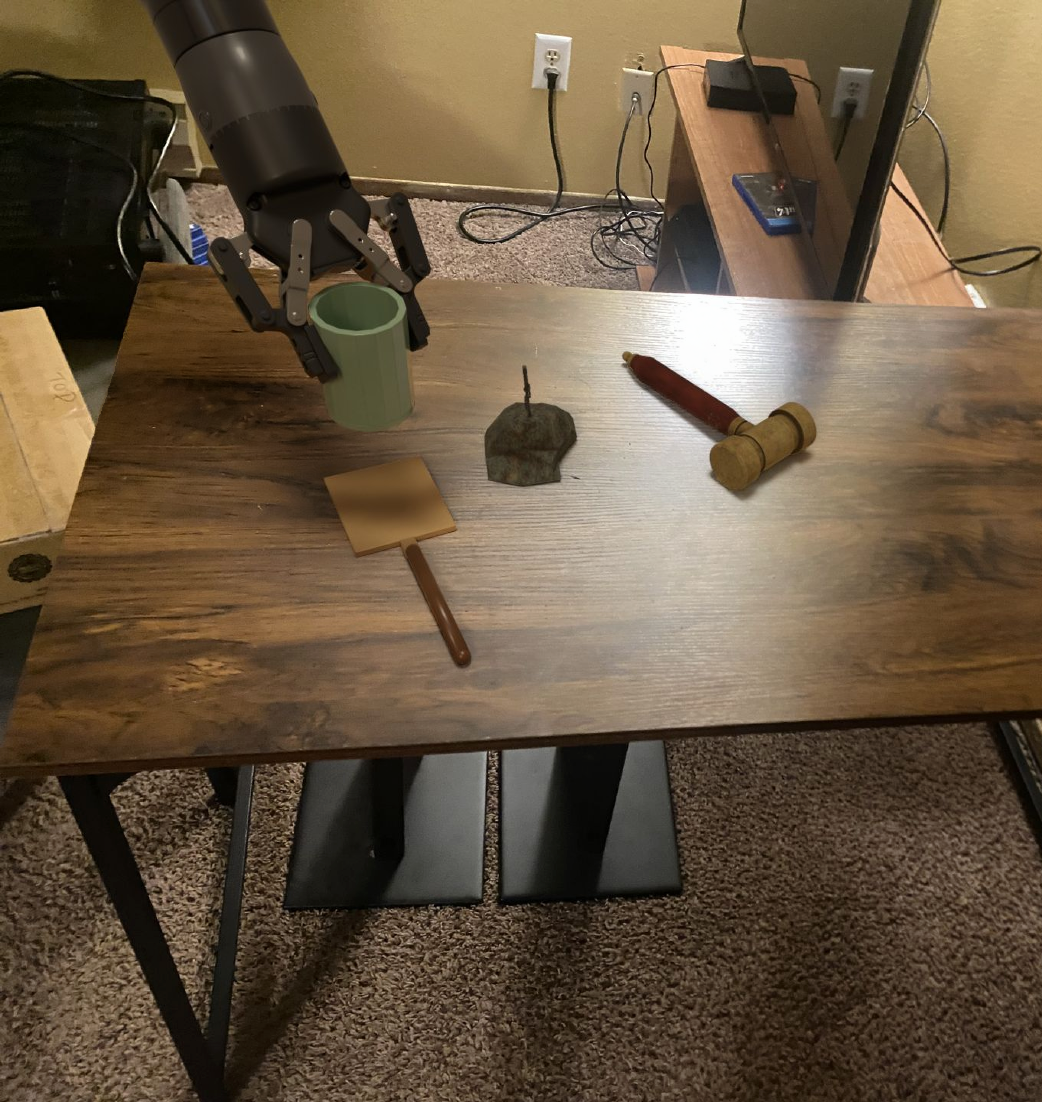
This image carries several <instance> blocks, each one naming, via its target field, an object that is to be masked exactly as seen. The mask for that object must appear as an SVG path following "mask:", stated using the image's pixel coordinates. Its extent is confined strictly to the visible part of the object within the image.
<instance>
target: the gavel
mask: <svg viewBox="0 0 1042 1102" xmlns="http://www.w3.org/2000/svg"><path fill="white" fill-rule="evenodd" d="M621 357H622V361H624V362H626V363H627V366H628V368H630V369H631V371H632V372H633V373H634V375H635V376H636V378H637V379H638V380H639V381H640V382H642V383H643V384H644V385H646V386H648V387H649V388H651V389H653V390H654V391H656V392H657V393H659V394H660V395H662V396H663V397H664V398H666V399H667V400H669V401H671V402H672V403H674V404H675V405H677V406H678V407H680V408H681V409H683V410H684V411H686V412H687V413H689V414H690V415H692V416H693V417H695V418H696V419H698V420H699V421H701V422H702V423H704V424H706V425H707V426H709V427H710V428H712V429H713V430H715V431H716V432H718V433H720V434H722V435H725V436H727V437H726V438H724V439H723V440H721V441H719V442H718V443H715V444H714V445H713V446H712V447H711V448H710V450H709V457H708V458H709V459H708V460H709V465H710V468H711V470H712V472H713V474H714V476H715V477H716V479H717V480H718V481H719V482H720V483H721V484H722V485H723V486H724V487H725V488H727V489H729V490H732V491H735V492H736V491H741V490H743V489H744V488H747V487H748V486H749V485H751V484H752V483H754V482H755V481H757V480H758V479H759V477H760V476H761V474H762V473H763V472H765V471H766V470H768V469H770V468H771V467H772V466H775V465H776V464H777V463H779V462H780V461H782V460H784V459H785V458H787V457H788V456H790V455H792V456H793V455H797V454H800V453H801V452H802V451H804V450H805V449H807V448H809V447H810V446H811V445H813V444H814V443H815V441H816V440H817V439H816V438H817V434H818V433H817V425H816V421H815V419H814V417H813V415H812V414H811V413H810V412H809V410H808V409H807V408H806V407H805V406H804V405H802V404H801V403H799V402H795V401H787V402H786V403H784V404H782V405H780V406H778V407H777V408H775V409H773V410H772V411H771V412H770V413H769V414H768V416H767V418H765V419H762V421H760V422H758V423H756V424H754V423H753V422H751V421H748V420H747V419H746V418H744V417H742V416H741V415H740V414H739V413H738V412H737V411H736V410H735V409H734V408H732V407H731V406H729V405H727V404H726V403H725V402H724V401H721V400H720V399H718V398H717V397H715V396H713V394H711V393H709V392H708V391H706V390H704V389H703V388H701V387H700V386H698V385H697V384H695V383H693V382H692V381H690V380H689V379H687V378H685V376H682V375H681V374H680V373H678V372H676V371H675V370H673V369H672V368H670V367H669V366H667V365H665V364H664V363H662V362H660V361H659V360H658V359H656V358H654V357H653V356H649V355H642V354H639V353H637V352H636V353H632V352H631V351H627V350H626V351H623V353H622V355H621Z"/></svg>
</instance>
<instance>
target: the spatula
mask: <svg viewBox="0 0 1042 1102" xmlns="http://www.w3.org/2000/svg"><path fill="white" fill-rule="evenodd" d="M323 483H324V486H325V487H326V489H327V492H328V494H329V496H330V499H331V501H332V503H333V506H334V508H335V510H336V513H337V515H338V517H339V521H340V522H341V525H342V527H343V529H344V532H345V533H346V534H345V535H346V536H347V539H348V541H349V544H350V546H351V548H352V551H353V553H354V555H355V557H356V558H360V557H363V556H368V555H370V554H375V553H378V552H382V551H385V550H388V549H392V548H396V547H400V548H401V550H402V552H403V555H404V557H405V558H406V559H407V560H408V562H409V565H410V567H411V570H412V571H413V573H414V576H415V578H416V580H417V582H418V584H419V587H420V588H421V590H422V593H423V594H424V595H423V596H424V597H425V599H426V601H427V604H428V605H429V607H430V610H431V612H432V615H433V617H434V618H435V621H436V622H437V625H438V627H439V629H440V631H441V633H442V635H443V638H444V640H445V643H446V644H447V646H448V648H449V650H450V652H451V655H452V657H453V659H454V661H455V662H456V663H457V664H459V665H466V664H467V663H469V662H470V660H471V658H472V653H471V651H470V649H469V647H468V645H467V642H466V640H465V638H464V636H463V634H462V632H461V630H460V628H459V625H458V624H457V621H456V619H455V618H454V615H453V613H452V611H451V609H450V607H449V605H448V603H447V600H446V598H445V597H444V594H443V592H442V590H441V588H440V586H439V583H438V582H437V580H436V577H435V575H434V573H433V572H432V569H431V567H430V565H429V563H428V561H427V559H426V557H425V555H424V553H423V551H422V548H421V546H419V543H418V542H419V541H422V540H427V539H429V538H433V537H437V536H440V535H445V534H448V533H451V532H454V531H457V524H456V522H455V520H454V518H453V516H452V514H451V513H450V511H449V508H448V507H447V505H446V502H445V501H444V499H443V497H442V495H441V493H440V491H439V489H438V487H437V485H436V484H435V481H434V479H433V477H432V476H431V474H430V472H429V470H428V468H427V466H426V464H425V462H424V460H423V458H422V456H421V455H419V454H418V455H415V456H411V457H406V458H402V459H398V460H395V461H390V462H386V463H382V464H377V465H373V466H369V467H364V468H360V469H356V470H351V471H347V472H343V473H338V474H334V475H329V476H326V477H323Z"/></svg>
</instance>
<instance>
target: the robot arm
mask: <svg viewBox="0 0 1042 1102" xmlns="http://www.w3.org/2000/svg"><path fill="white" fill-rule="evenodd" d="M138 1H139V3H140V4H141V5H142V6H143V8H144V9H145V11H146V12H147V15H148V16H149V19H150V21H151V23H152V26H153V27H154V30H155V32H156V34H157V36H158V38H159V40H160V43H161V45H162V47H163V48H164V51H165V53H166V55H167V56H168V59H169V61H170V63H171V65H172V67H173V69H174V72H175V74H176V76H177V78H178V80H179V83H180V87H181V89H182V93H183V96H184V98H185V101H186V104H187V106H188V109H189V111H190V113H191V115H192V118H193V120H194V122H195V124H196V126H197V128H198V130H199V133H200V134H201V136H202V139H203V140H204V142H205V145H206V147H207V149H208V151H209V152H210V155H211V157H212V159H213V161H214V163H215V165H216V167H217V169H218V171H219V173H220V175H221V177H222V179H223V181H224V184H225V185H226V188H227V189H228V191H229V193H230V196H231V198H232V200H233V202H234V204H235V206H236V208H237V210H238V212H239V214H240V215H241V218H242V221H243V232H240V233H239V234H236V235H233V236H231V237H229V238H226V237H224V236H218V237H216V238H213V240H212V241H211V243H210V245H209V246H208V248H207V251H206V253H205V259H206V261H207V263H208V264H209V266H210V267H211V269H212V270H213V272H214V274H215V275H216V277H217V278H218V280H219V281H220V283H221V284H222V286H223V288H224V289H225V291H226V292H227V294H228V296H229V297H230V298H231V300H232V301H233V304H234V305H235V307H236V308H237V309H238V311H239V313H240V314H241V316H242V317H243V319H244V320H245V322H246V324H247V326H248V327H249V328H250V329H251V331H252V332H254V333H257V334H262V333H264V332H276V333H281V334H283V335H284V336H286V337H287V338H288V340H289V342H290V344H291V346H292V348H293V350H294V352H295V354H296V356H297V358H298V360H299V362H300V365H301V366H302V368H303V371H304V373H305V374H306V375H307V376H309V378H311V379H314V378H317V380H318V381H319V383H320V384H321V385H322V384H325V383H327V382H330V381H333V380H334V379H336V378H337V377H338V375H337V371H336V369H335V367H334V365H333V363H332V361H331V358H330V356H329V354H328V352H327V350H326V348H325V346H324V344H323V342H322V340H321V338H320V336H319V333H318V331H317V329H316V327H315V325H314V324H311V323H309V321H308V320H307V318H308V293H309V291H310V283H312V282H315V281H319V280H320V279H321V278H324V277H325V276H326V275H329V274H330V275H331V274H332V275H333V274H335V275H336V274H337V275H339V274H343V273H346V272H349V271H353V272H354V273H355V274H356V275H357V276H358V277H359V278H361V279H362V280H364V281H365V282H370V283H377V284H380V285H383V286H385V287H388V288H390V289H393V290H394V291H395V292H396V293H398V294H399V295H400V296H401V297H402V298H403V299H404V303H405V306H406V309H407V320H408V330H409V341H410V351H411V353H414V352H417V351H420V350H423V349H424V348H425V347H427V346H428V345H429V341H428V337H429V336H431V328H430V324H429V323H428V321H427V319H426V317H425V314H424V312H423V310H422V308H421V305H420V303H419V301H418V299H417V296H416V294H415V290H416V287H417V285H418V284H420V283H421V282H422V281H423V280H424V279H425V278H426V277H428V276H430V274H431V272H432V266H431V264H430V263H431V262H430V260H429V257H428V254H427V252H426V249H425V245H424V242H423V240H422V237H421V234H420V231H419V227H418V225H417V222H416V219H415V215H414V213H413V210H412V206H411V204H410V201H409V198H408V196H407V195H406V194H404V193H403V192H400V191H396V192H394V193H392V195H391V196H390V197H389V198H381V199H374V200H367V199H366V198H365V197H364V196H363V195H361V193H360V192H358V190H356V188H355V186H354V185H353V183H352V180H351V177H350V174H349V171H348V169H347V167H346V165H345V161H344V160H343V158H342V155H341V153H340V151H339V149H338V147H337V145H336V142H335V141H334V138H333V136H332V134H331V131H330V130H329V128H328V125H327V124H326V121H325V119H324V116H323V115H322V112H321V110H320V108H319V102H318V100H317V98H316V95H315V94H314V93H313V91H312V90H311V88H310V86H309V83H308V82H307V80H306V77H305V75H304V74H303V72H302V70H301V68H300V66H299V65H298V63H297V61H296V60H295V58H294V57H293V55H292V53H291V52H290V50H289V48H288V46H287V44H286V42H285V41H284V39H283V37H282V35H281V33H280V30H279V28H278V25H277V23H276V21H275V19H274V17H273V15H272V12H271V10H270V8H269V6H268V4H267V2H266V0H138ZM371 220H373V221H375V222H376V223H377V224H378V227H379V229H381V230H382V231H383V232H385V233H388V235H389V236H388V237H389V238H390V239H389V240H390V242H391V245H392V248H393V251H394V254H395V256H396V259H397V262H398V265H399V267H398V266H397V265H396V264H395V263H393V262H392V260H391V259H390V256H389V254H388V253H387V252H386V251H385V250H384V249H383V248H382V247H380V246H379V245H378V244H377V243H376V242H375V241H374V240H373V239H371V237H369V236H368V233H369V228H370V222H371ZM250 250H252V251H253V252H255V253H256V254H257V255H259V256H261V258H263V259H265V260H267V261H268V262H270V263H272V264H273V265H274V266H276V267H278V298H279V308H278V307H277V308H276V307H272V306H271V304H270V302H269V301H268V299H267V298H266V296H265V294H264V293H263V291H262V290H261V288H260V286H259V284H258V283H257V281H256V280H255V279H254V277H253V275H252V274H251V272H250V270H249V267H250V266H251V264H252V257H251V256H250Z"/></svg>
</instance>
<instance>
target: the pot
mask: <svg viewBox="0 0 1042 1102" xmlns="http://www.w3.org/2000/svg"><path fill="white" fill-rule="evenodd" d="M307 312H308V316H309V321H310V323H309V324H310V325H311V324H314V325H315V327H316V329H317V331H318V333H319V336H320V338H321V340H322V342H323V344H324V346H325V348H326V350H327V352H328V354H329V356H330V358H331V361H332V363H333V365H334V367H335V369H336V371H337V375H338V377H337V378H336V379H334V380H333V381H330V382H327V383H325V384H321V387H322V395H323V399H324V404H325V409H326V412H327V414H328V416H329V417H330V419H331V420H332V421H333V422H335V423H336V424H337V425H339V426H341V427H343V428H345V429H348V430H352V431H356V432H364V433H365V432H366V433H375V432H381V431H382V432H383V431H386V430H390V429H392V428H395V427H397V426H400V425H401V424H403V423H404V422H405V421H407V420H408V419H409V418H410V416H411V415H412V414H413V412H414V409H415V404H416V402H415V400H416V396H415V395H416V394H415V385H414V373H413V361H412V352H411V351H410V341H409V330H408V320H407V309H406V306H405V303H404V299H403V298H402V297H401V296H400V295H399V294H398V293H396V292H395V291H394V290H393V289H390V288H388V287H385V286H383V285H380V284H377V283H371V282H369V281H363V280H356V281H355V280H354V281H344V282H338V283H336V284H331V285H328V286H326V287H324V288H322V289H321V290H319V291H318V292H316V293H315V294H314V295H312V297H311V299H310V301H309V303H308V304H307Z"/></svg>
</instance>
